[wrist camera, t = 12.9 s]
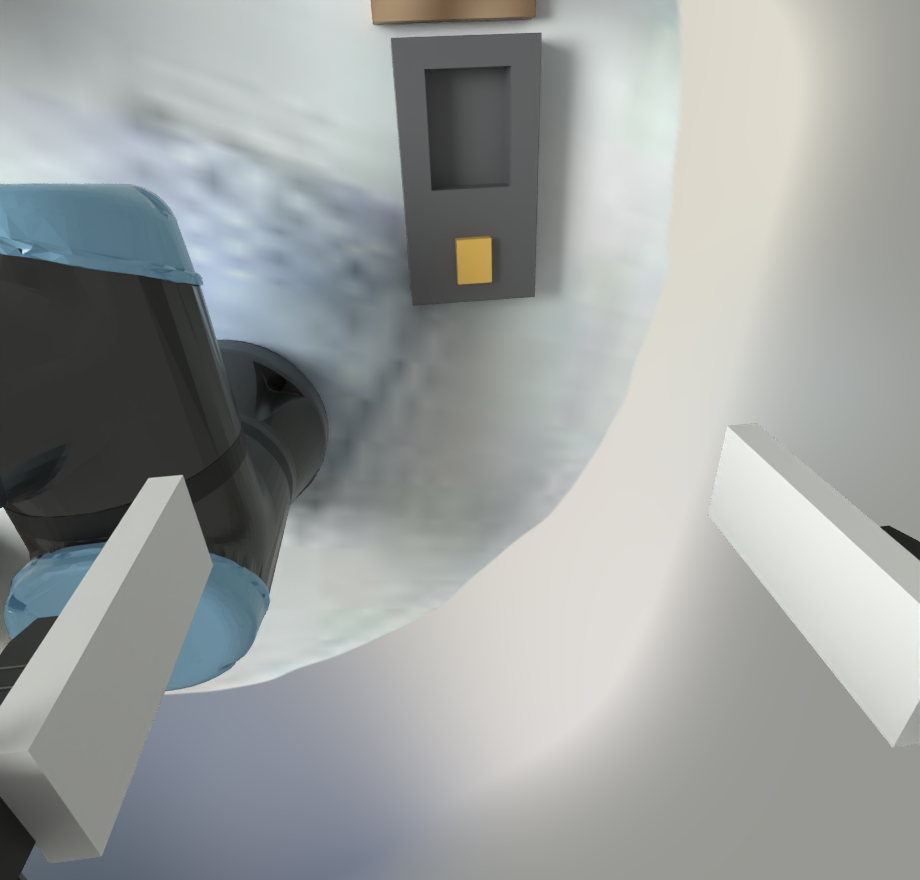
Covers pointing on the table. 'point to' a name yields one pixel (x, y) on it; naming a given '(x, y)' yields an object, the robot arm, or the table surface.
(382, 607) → the table surface
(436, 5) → the walnut board
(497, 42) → the dark grey holder
